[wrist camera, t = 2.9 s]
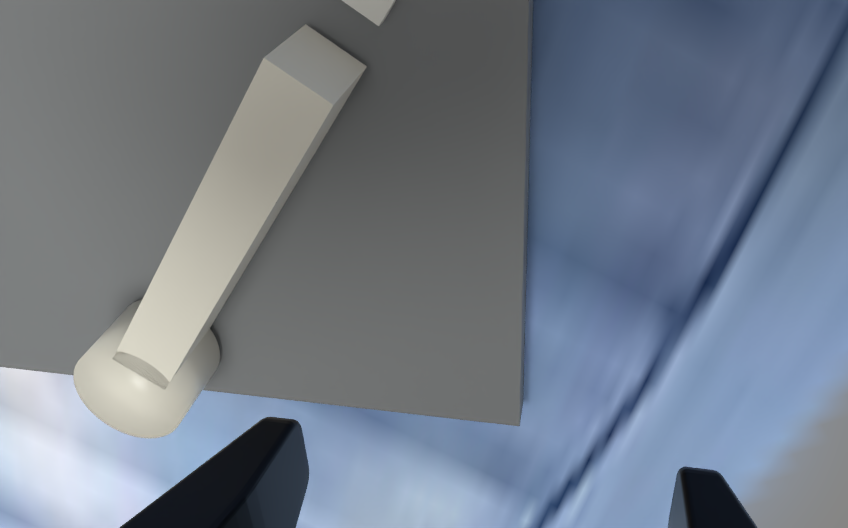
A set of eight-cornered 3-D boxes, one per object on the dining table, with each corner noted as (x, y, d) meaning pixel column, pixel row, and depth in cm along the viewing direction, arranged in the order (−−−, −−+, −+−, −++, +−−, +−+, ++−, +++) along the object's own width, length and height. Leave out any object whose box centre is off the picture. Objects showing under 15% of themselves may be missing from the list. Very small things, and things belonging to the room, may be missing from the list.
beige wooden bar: (197, 399, 24) (159, 455, 22) (107, 345, 24) (60, 397, 22) (396, 86, 17) (367, 128, 15) (274, 2, 17) (227, 33, 15)
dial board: (522, 402, 23) (517, 441, 21) (-69, 338, 27) (-104, 367, 26) (539, -236, 14) (530, -238, 13) (-327, -182, 19) (-399, -178, 17)
